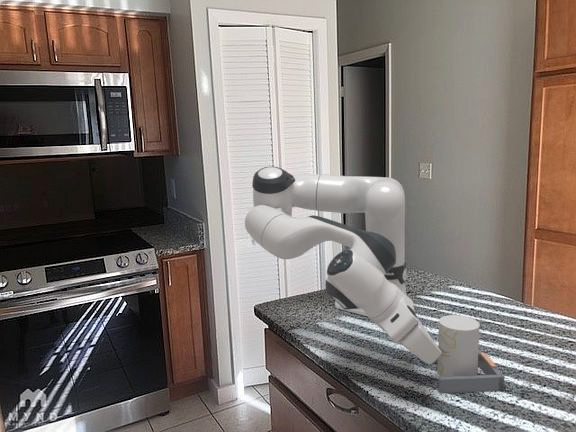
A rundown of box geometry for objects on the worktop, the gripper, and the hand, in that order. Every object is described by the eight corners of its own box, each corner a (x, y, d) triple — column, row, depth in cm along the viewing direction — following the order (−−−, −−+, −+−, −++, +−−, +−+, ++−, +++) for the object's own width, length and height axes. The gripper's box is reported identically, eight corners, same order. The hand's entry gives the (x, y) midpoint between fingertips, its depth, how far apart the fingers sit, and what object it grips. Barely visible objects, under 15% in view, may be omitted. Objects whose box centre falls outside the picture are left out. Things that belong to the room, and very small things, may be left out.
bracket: (440, 393, 93) (440, 377, 92) (421, 361, 106) (421, 347, 105) (503, 390, 93) (504, 374, 92) (477, 359, 106) (477, 345, 105)
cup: (433, 365, 104) (434, 315, 102) (469, 364, 104) (471, 314, 101) (443, 384, 96) (445, 330, 94) (483, 384, 96) (485, 330, 93)
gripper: (372, 303, 107) (413, 340, 109) (392, 342, 87) (442, 387, 88) (391, 284, 106) (433, 322, 108) (416, 319, 86) (466, 365, 88)
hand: (437, 352), depth 98 cm, fingers closed
